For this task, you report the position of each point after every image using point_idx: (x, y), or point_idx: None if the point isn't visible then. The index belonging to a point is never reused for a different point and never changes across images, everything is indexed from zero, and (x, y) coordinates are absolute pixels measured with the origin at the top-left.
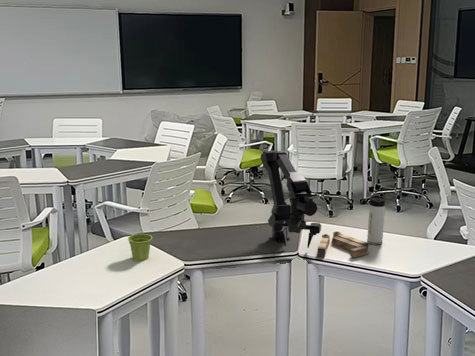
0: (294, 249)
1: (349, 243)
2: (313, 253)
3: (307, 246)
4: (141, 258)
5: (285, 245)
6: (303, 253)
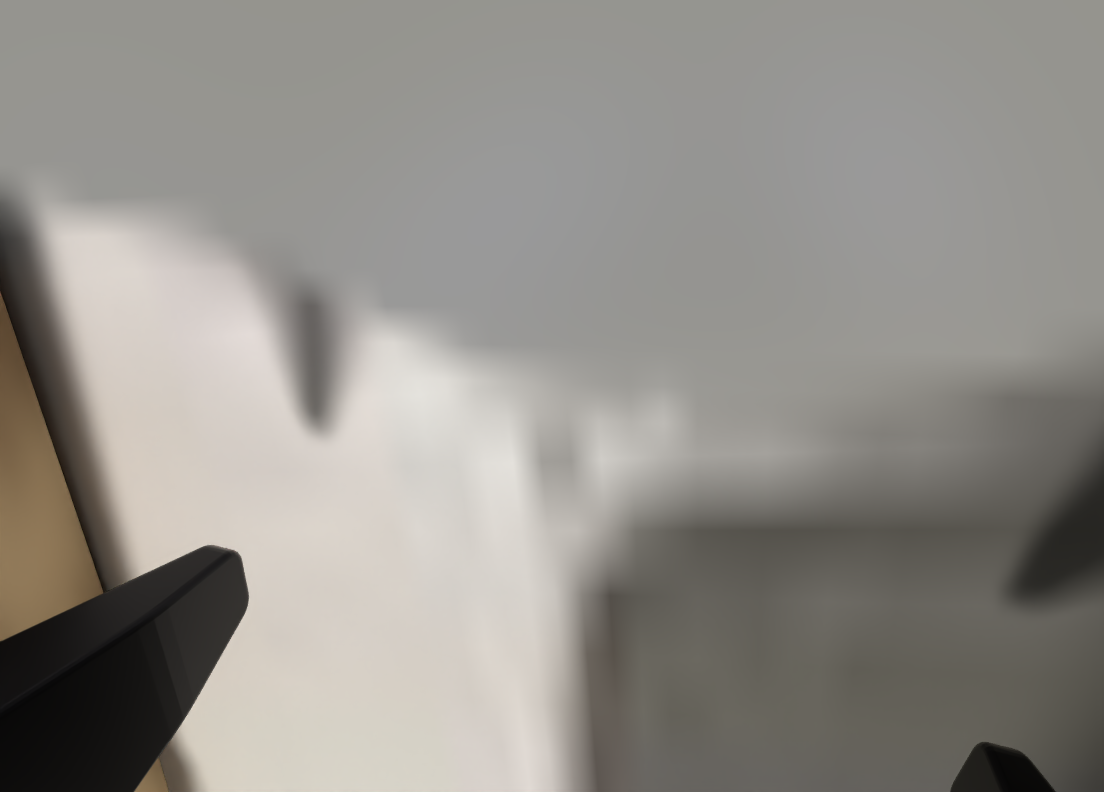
0: (665, 646)
1: None
2: (153, 399)
3: (192, 579)
4: None
5: (1011, 770)
6: (386, 380)
